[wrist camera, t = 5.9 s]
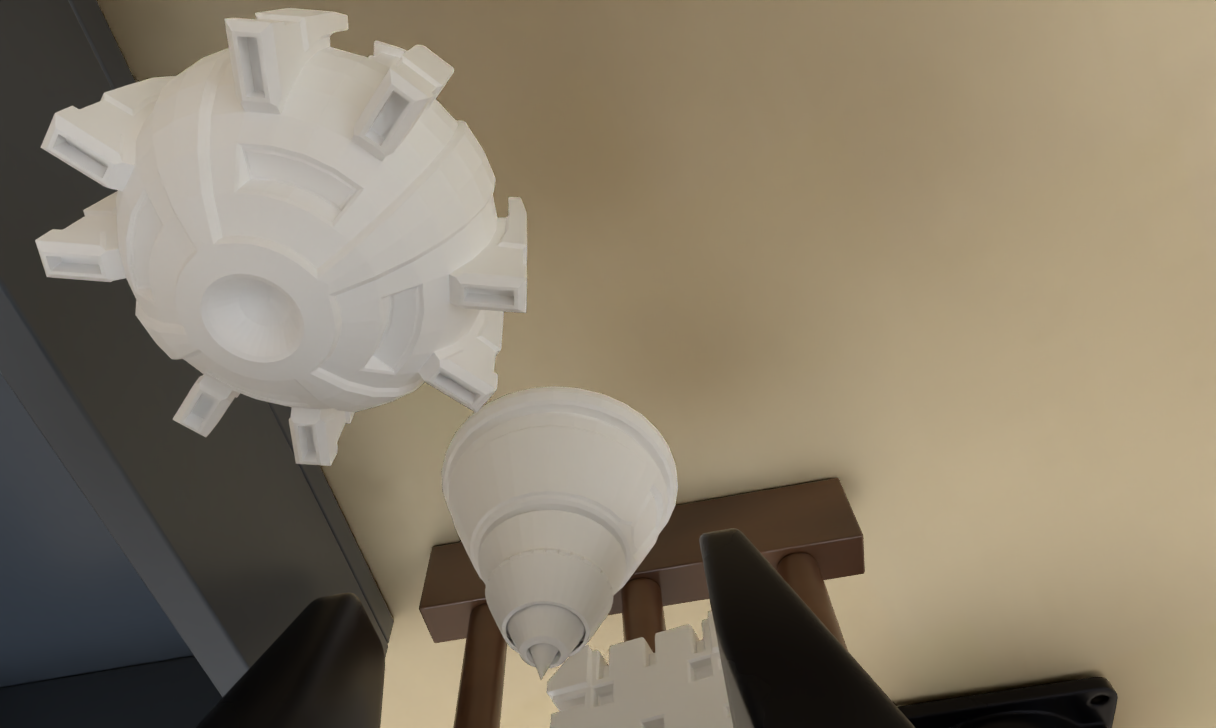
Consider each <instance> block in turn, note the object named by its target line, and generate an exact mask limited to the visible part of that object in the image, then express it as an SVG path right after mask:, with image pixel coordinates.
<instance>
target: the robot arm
mask: <svg viewBox="0 0 1216 728" xmlns="http://www.w3.org/2000/svg"><path fill="white" fill-rule="evenodd" d="M699 543H700V548H701V554H702V559H703V565H704V571H705V576H706V582H707V587H708V593H709V598H710V604H711V609H712V615H713V620H714V626H715V631H716V636H717V642H718V647H719V653H720V658H721V664H722V669H723V674H724V680H725V685H726V691H727V696H728V701H729V707H730V712H731V718H732V723H733V728H1112V724H1113V719H1114V714H1115V708H1116V703H1117V698H1118V697H1117V693H1116V691H1115V690H1114V688H1113V687H1112V685H1111V684H1110V682H1109V681H1108V680H1107V679H1105V678H1102V677H1092V678H1086V679H1079V680H1072V681H1066V682H1059V683H1052V684H1046V685H1039V686H1032V687H1026V688H1019V689H1012V690H1006V691H999V692H992V693H986V694H979V695H972V696H966V697H959V698H953V699H946V700H939V701H933V702H926V703H919V704H913V705H906V706H899V707H897V706H896V705H895V704H894V703H893V702H892V701H891V700H890V699H889V697H888V696H887V695H886V694H885V693H884V692H883V691H882V689H881V688H880V687H879V686H878V685H877V684H876V683H875V682H874V680H873V679H872V678H871V677H870V676H869V675H868V674H867V673H866V671H865V670H864V669H863V668H862V667H861V666H860V665H859V663H858V662H857V661H856V660H855V659H854V658H853V657H852V656H851V654H850V653H849V652H848V651H847V650H846V649H845V648H844V647H843V645H842V644H841V643H840V642H839V641H838V640H837V639H836V637H835V636H834V635H833V634H832V633H831V632H830V631H829V630H828V628H827V627H826V626H825V625H824V624H823V623H822V622H821V621H820V619H819V618H818V617H817V616H816V615H815V614H814V613H813V611H812V610H811V609H810V608H809V607H808V606H807V605H806V604H805V602H804V601H803V600H802V599H801V598H800V597H799V596H798V595H797V593H796V592H795V591H794V590H793V589H792V588H791V587H790V585H789V584H788V583H787V582H786V581H785V580H784V579H783V578H782V576H781V575H780V574H779V573H778V572H777V571H776V570H775V569H774V567H773V566H772V565H771V564H770V563H769V562H768V561H767V559H766V558H765V557H764V556H763V555H762V554H761V553H760V552H759V550H758V549H757V548H756V547H755V546H754V545H753V544H752V543H751V541H750V540H749V539H748V538H747V537H746V536H745V535H744V534H743V533H742V532H741V531H740V530H738V529H735V528H731V529H725V530H719V531H713V532H707V533H703V534H702V535H701V536H700V538H699ZM384 671H385V656H384V650H383V646H382V643H381V641H380V638H379V636H378V634H377V632H376V630H375V628H374V626H373V624H372V622H371V620H370V618H369V616H368V614H367V612H366V610H365V608H364V606H363V604H362V602H361V601H360V599H359V598H358V597H357V596H356V595H355V594H353V593H342V594H336V595H330V596H324V597H319V598H317V599H315V600H313V601H312V602H311V603H310V604H309V605H308V606H307V607H306V608H305V609H304V610H303V611H302V612H301V613H300V614H299V615H298V616H297V618H296V619H295V620H294V621H293V622H292V623H291V624H290V625H289V626H288V627H287V628H286V629H285V631H284V632H283V633H282V634H281V635H280V636H279V637H278V638H277V639H276V640H275V641H274V642H273V643H272V645H271V646H270V647H269V648H268V649H267V650H266V651H265V652H264V653H263V654H262V655H261V656H260V657H259V659H258V660H257V661H256V662H255V663H254V664H253V665H252V666H251V667H250V668H249V669H248V670H247V672H246V673H245V674H244V675H243V676H242V677H241V678H240V679H239V680H238V681H237V682H236V683H235V684H234V686H233V687H232V688H231V689H230V690H229V691H228V692H227V693H226V694H225V695H224V696H223V697H222V699H221V700H220V701H219V702H218V703H217V704H216V705H215V706H214V707H213V708H212V709H211V710H210V711H209V713H208V714H207V715H206V716H205V717H204V718H203V719H202V720H201V721H200V722H199V723H198V724H197V726H196V727H195V728H380V723H381V710H382V697H383V684H384Z"/></svg>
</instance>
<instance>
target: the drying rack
mask: <svg viewBox="0 0 1216 728" xmlns="http://www.w3.org/2000/svg"><path fill="white" fill-rule="evenodd" d="M731 528H735V529H738V530H740V531H741V532H742V533H743V534H744V535H745V536H746V537H747V538H748V539H749V540H750V541H751V543H752V544H753V545H754V546H755V547H756V548H757V549H758V550H759V552H760V553H761V554H762V555H763V556H764V557H765V558H766V559H767V561H768V562H769V563H770V564H771V565H772V566H773V567H774V569H775V570H776V571H777V572H778V573H779V574H780V575H781V576H782V578H783V579H784V580H785V581H786V582H787V583H788V584H789V585H790V587H791V588H792V589H793V590H794V591H795V592H796V593H797V595H798V596H799V597H800V598H801V599H802V600H803V601H804V602H805V604H806V605H807V606H808V607H809V608H810V609H811V610H812V611H813V613H814V614H815V615H816V616H817V617H818V618H819V619H820V621H821V622H822V623H823V624H824V625H825V626H826V627H827V628H828V630H829V631H830V632H831V633H832V634H833V635H834V636H835V637H836V639H837V640H838V641H839V642H840V643H841V644H842V645H843V647H844V648H845V649H846V650H847V647H846V644H845V641H844V638H843V635H842V633H841V630H840V627H839V624H838V621H837V618H836V615H835V612H834V609H833V607H832V604H831V601H830V598H829V595H828V592H827V589H826V586H825V584H824V581H823V580H827V579H833V578H839V577H846V576H852V575H858V574H863V573H864V572H865V565H864V544H863V534H862V531H861V529H860V527H859V524H858V522H857V520H856V517H855V515H854V513H853V511H852V508H851V506H850V504H849V501H848V499H847V497H846V494H845V492H844V490H843V487H842V485H841V483H840V480H839V479H838V478H833V479H827V480H821V481H815V482H810V483H804V484H798V485H792V486H786V487H780V488H775V489H769V490H763V491H757V492H751V493H745V494H739V495H734V496H728V497H722V498H716V499H710V500H704V501H699V502H693V503H687V504H681V505H675V507H674V510H673V512H672V514H671V517H670V519H669V521H668V523H667V524H666V526H665V527H664V528H663V530H662V531H661V532H660V534H659V535H658V538H657V541H656V543H655V545H654V546H653V547H652V549H651V550H650V552H649V553H648V554H647V556H646V557H645V558H644V560H643V561H642V562H641V564H640V565H639V566H638V568H637V569H636V571H635V572H634V573H633V575H632V576H631V577H630V579H629V580H628V581H627V583H626V584H625V585H624V587H623V588H621V589H620V590H619V591H618V592H617V593H616V594H615V595H614V596H613V604H612V608H611V610H610V612H609V613H608V615H612V614H618V613H622V616H623V632H624V642H626V641H630V640H633V639H637V638H640V637H643V638H644V639H645V640H646V642H647V643H648V645H649V647H650V648H651V650H652V651H653V653H655V634H656V633H658V632H662V631H665V630H666V628H665V619H664V611H663V606H667V605H673V604H679V603H685V602H692V601H698V600H704V599H710V598H709V593H708V587H707V582H706V576H705V571H704V565H703V559H702V554H701V548H700V543H699V538H700V536H701V535H702V534H703V533H707V532H713V531H719V530H725V529H731ZM485 586H486V585H485V583H484V582H483V580H482V579H481V578H480V577H479V575H478V573H477V572H476V570H475V568H474V566H473V564H472V562H471V560H470V558H469V556H468V554H467V552H466V550H465V548H464V546H463V544H462V542H459V543H453V544H447V545H441V546H435V547H432V550H431V555H430V560H429V564H428V569H427V573H426V578H425V583H424V587H423V592H422V597H421V601H420V606H419V610H420V612H421V614H422V617H423V619H424V621H425V623H426V625H427V628H428V630H429V632H430V634H431V637H432V639H433V641H434V643H439V642H445V641H451V640H457V639H464V638H466V645H465V652H464V659H463V666H462V673H461V680H460V686H459V693H458V700H457V707H456V714H455V721H454V728H500V718H501V707H502V696H503V684H504V673H505V662H506V651H507V643H506V641H505V639H504V638H503V636H502V634H501V632H500V630H499V628H498V626H497V624H496V622H495V620H494V618H493V616H492V614H491V611H490V609H489V607H488V604H487V602H486V596H485V588H486V587H485ZM847 651H848V650H847Z"/></svg>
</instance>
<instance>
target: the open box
mask: <svg viewBox="0 0 1216 728" xmlns="http://www.w3.org/2000/svg"><path fill="white" fill-rule="evenodd" d="M133 83H136V82H135V80H134V78H133V76H132V74H131V72H130V70H129V68H128V66H127V63H126V61H125V59H124V57H123V55H122V53H121V51H120V49H119V47H118V45H117V43H116V41H115V38H114V36H113V34H112V32H111V30H110V28H109V26H108V24H107V22H106V20H105V18H104V15H103V13H102V11H101V9H100V7H99V5H98V3H97V1H96V0H0V728H195V727H196V726H197V724H198V723H199V722H200V721H201V720H202V719H203V718H204V717H205V716H206V715H207V714H208V713H209V711H210V710H211V709H212V708H213V707H214V706H215V705H216V704H217V703H218V702H219V701H220V700H221V699H222V697H223V696H224V695H225V694H226V693H227V692H228V691H229V690H230V689H231V688H232V687H233V686H234V684H235V683H236V682H237V681H238V680H239V679H240V678H241V677H242V676H243V675H244V674H245V673H246V672H247V670H248V669H249V668H250V667H251V666H252V665H253V664H254V663H255V662H256V661H257V660H258V659H259V657H260V656H261V655H262V654H263V653H264V652H265V651H266V650H267V649H268V648H269V647H270V646H271V645H272V643H273V642H274V641H275V640H276V639H277V638H278V637H279V636H280V635H281V634H282V633H283V632H284V631H285V629H286V628H287V627H288V626H289V625H290V624H291V623H292V622H293V621H294V620H295V619H296V618H297V616H298V615H299V614H300V613H301V612H302V611H303V610H304V609H305V608H306V607H307V606H308V605H309V604H310V603H311V602H312V601H313V600H315V599H317V598H319V597H324V596H330V595H336V594H342V593H353V594H355V595H356V596H357V597H358V598H359V599H360V601H361V602H362V604H363V606H364V608H365V610H366V612H367V614H368V616H369V618H370V620H371V622H372V624H373V626H374V628H375V630H376V632H377V634H378V636H379V638H380V641H381V643H382V646H383V650H384V656H385V657H386V653H387V648H388V643H389V639H390V635H391V631H392V627H393V622H394V621H393V618H392V616H391V614H390V612H389V610H388V608H387V606H386V603H385V601H384V599H383V597H382V595H381V593H380V591H379V589H378V587H377V585H376V583H375V581H374V578H373V576H372V574H371V572H370V570H369V568H368V566H367V564H366V562H365V560H364V558H363V555H362V553H361V551H360V549H359V547H358V545H357V543H356V541H355V539H354V537H353V535H352V533H351V530H350V528H349V526H348V524H347V522H346V520H345V518H344V516H343V514H342V512H341V510H340V508H339V505H338V503H337V501H336V499H335V497H334V495H333V493H332V491H331V489H330V487H329V485H328V483H327V480H326V478H325V476H324V474H323V472H322V470H321V468H320V466H319V465H309V464H296V462H295V456H294V450H293V444H292V438H291V432H290V426H289V418H290V416H291V407H288V406H284V405H279V404H275V403H270V402H266V401H261V400H257V399H254V398H251V397H249V396H246V395H244V394H241V393H240V394H239V396H238V397H237V398H236V397H235V398H234V400H233V401H232V403H231V404H230V406H229V407H228V409H227V410H226V412H225V413H224V415H223V416H222V418H221V419H220V421H219V422H218V424H217V425H216V426H215V427H214V429H213V430H212V431H211V432H210V433H209V435H208V436H207V437H204V436H202V435H200V434H198V433H196V432H195V431H193V430H191V429H189V428H187V427H185V426H183V425H181V424H180V423H178V422H176V421H174V420H173V418H174V416H175V414H176V413H177V411H178V409H179V408H180V406H181V405H182V403H183V401H184V400H185V398H186V396H187V395H188V393H189V392H190V390H191V388H192V387H193V385H194V383H195V382H196V381H197V379H198V378H199V377H200V376H202V375H203V373H201V372H200V371H199V370H197V369H196V368H195V367H193V366H192V365H191V364H189V363H188V362H186V361H185V360H184V359H178V360H176V359H171V358H170V357H169V356H168V355H167V354H166V353H165V352H164V351H163V350H162V349H161V348H160V347H159V346H158V345H157V344H156V343H155V341H154V340H153V339H152V337H151V336H150V334H149V333H148V332H147V330H146V329H145V327H144V326H143V325H142V323H141V322H140V320H139V319H138V318H137V316H136V315H135V312H136V301H137V300H136V298H135V296H134V294H133V292H132V289H131V287H130V285H129V283H128V281H127V279H126V278H125V279H119V280H114V281H112V282H102V281H89V280H77V279H64V278H51V277H47V276H46V273H45V270H44V267H43V264H42V261H41V257H40V254H39V251H38V248H37V245H36V242H35V240H36V239H38V238H39V237H41V236H42V235H44V234H46V233H47V232H49V231H50V230H52V229H59V230H63V229H65V228H66V227H68V226H70V225H71V224H73V223H74V222H76V221H78V220H79V219H81V218H83V217H84V216H85V215H84V211H83V210H84V209H86V208H88V207H90V206H91V205H93V204H95V203H97V202H99V201H100V200H102V199H104V198H106V197H107V196H109V195H111V194H113V193H115V192H117V191H118V190H114V189H110V188H107V187H104V186H102V185H101V184H99V183H98V182H96V181H94V180H93V179H91V178H89V177H88V176H86V175H84V174H83V173H81V172H80V171H78V170H76V169H75V168H73V167H71V166H70V165H68V164H67V163H65V162H63V161H62V160H60V159H58V158H57V157H55V156H54V155H52V154H50V153H49V152H47V151H45V150H44V149H42V148H40V147H41V145H42V143H43V140H44V138H45V136H46V133H47V131H48V128H49V126H50V124H51V121H52V119H53V116H54V114H55V113H56V112H58V111H61V110H63V109H65V108H68V107H70V106H74V107H76V108H78V109H82V108H84V107H87V106H89V105H92V104H95V103H97V102H100V101H101V98H102V96H103V94H104V93H105V92H108V91H111V90H114V89H117V88H120V87H123V86H126V85H130V84H133Z"/></svg>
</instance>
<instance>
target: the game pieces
mask: <svg viewBox="0 0 1216 728" xmlns="http://www.w3.org/2000/svg"><path fill="white" fill-rule="evenodd" d="M255 16H256V19H247V18H235V17H234V18H225V19H224V21H225V27H226V33H227V40H228V46H229V48H226V49H224V50H221V51H218V52H216V53H213V54H210V55H208V56H205V57H203V58H201V59H200V60H198V61H197V62H196V63H194V64H193V65H191V66H190V67H188V68H187V69H185V70H184V71H182V72H181V73H180V74H178V75H177V76H165V77H154V78H150V79H147V80H143V81H140V82H136V83H133V84H130V85H126V86H123V87H120V88H117V89H114V90H111V91H108V92H105V93H104V94H103V96H102V98H101V101H100V102H97V103H95V104H92V105H89V106H87V107H84V108H82V109H78V108H76V107H74V106H70V107H68V108H65V109H63V110H61V111H58V112H56V113H55V114H54V116H53V119H52V121H51V124H50V126H49V128H48V131H47V133H46V136H45V138H44V140H43V143H42V145H41V147H40V148H42V149H44V150H45V151H47V152H49V153H50V154H52V155H54V156H55V157H57V158H58V159H60V160H62V161H63V162H65V163H67V164H68V165H70V166H71V167H73V168H75V169H76V170H78V171H80V172H81V173H83V174H84V175H86V176H88V177H89V178H91V179H93V180H94V181H96V182H98V183H99V184H101V185H102V186H104V187H107V188H110V189H114V190H118V191H117V192H115V193H113V194H111V195H109V196H107V197H106V198H104V199H102V200H100V201H99V202H97V203H95V204H93V205H91V206H90V207H88V208H86V209H84V210H83V211H84V215H85V216H84V217H83V218H81V219H79V220H78V221H76V222H74V223H73V224H71V225H70V226H68V227H66V228H65V229H63V230H59V229H52V230H50V231H49V232H47V233H46V234H44V235H42V236H41V237H39V238H38V239H36V240H35V242H36V245H37V248H38V251H39V254H40V257H41V261H42V264H43V267H44V270H45V273H46V276H47V277H51V278H64V279H77V280H89V281H102V282H112V281H114V280H119V279H125V278H126V279H127V281H128V283H129V285H130V287H131V289H132V292H133V294H134V296H135V298H136V300H137V301H136V312H135V315H136V316H137V318H138V319H139V320H140V322H141V323H142V325H143V326H144V327H145V329H146V330H147V332H148V333H149V334H150V336H151V337H152V339H153V340H154V341H155V343H156V344H157V345H158V346H159V347H160V348H161V349H162V350H163V351H164V352H165V353H166V354H167V355H168V356H169V357H170V358H171V359H176V360H178V359H184V360H185V361H186V362H188V363H189V364H191V365H192V366H193V367H195V368H196V369H197V370H199V371H200V372H201V373H203V375H202V376H200V377H199V378H198V379H197V381H196V382H195V383H194V385H193V387H192V388H191V390H190V392H189V393H188V395H187V396H186V398H185V400H184V401H183V403H182V405H181V406H180V408H179V409H178V411H177V413H176V414H175V416H174V418H173V420H174V421H176V422H178V423H180V424H181V425H183V426H185V427H187V428H189V429H191V430H193V431H195V432H196V433H198V434H200V435H202V436H204V437H207V436H208V435H209V433H210V432H211V431H212V430H213V429H214V427H215V426H216V425H217V424H218V422H219V421H220V419H221V418H222V416H223V415H224V413H225V412H226V410H227V409H228V407H229V406H230V404H231V403H232V401H233V400H234V398H235V397H236V398H237V397H238V396H239V394H240V393H241V394H244V395H246V396H249V397H251V398H254V399H257V400H261V401H266V402H270V403H275V404H279V405H284V406H288V407H291V416H290V418H289V426H290V432H291V438H292V444H293V450H294V456H295V462H296V464H309V465H323V466H331V465H332V463H333V460H334V458H335V456H336V454H337V452H338V445H337V441H338V439H339V437H340V435H341V433H342V430H343V428H344V426H345V424H346V423H347V424H350V423H351V421H352V419H353V416H354V414H355V412H359V411H362V410H366V409H370V408H373V407H377V406H380V405H383V404H386V403H389V402H392V401H395V400H397V399H399V398H401V397H403V396H405V395H407V394H409V393H411V392H413V391H415V390H416V389H418V388H419V387H420V386H421V385H422V384H423V383H425V382H426V383H427V384H429V385H431V386H432V387H434V388H436V389H437V390H439V391H441V392H442V393H444V394H446V395H447V396H449V397H451V398H452V399H454V400H456V401H457V402H459V403H461V404H462V405H464V406H466V407H467V408H469V409H471V410H472V411H474V412H475V413H473V414H472V415H471V416H469V417H468V418H467V419H466V421H465V422H464V423H463V424H462V425H461V426H460V428H459V429H458V430H457V431H456V432H455V434H454V436H453V438H452V440H451V442H450V444H449V446H448V448H447V451H446V454H445V459H444V463H443V468H442V490H443V494H444V497H445V501H446V504H447V507H448V509H449V511H450V513H451V516H452V519H453V523H454V526H455V529H456V531H457V533H458V535H459V537H460V540H461V542H462V544H463V546H464V548H465V550H466V552H467V554H468V556H469V558H470V560H471V562H472V564H473V566H474V568H475V570H476V572H477V573H478V575H479V577H480V578H481V579H482V580H483V582H484V583H485V585H486V586H485V587H486V588H485V596H486V602H487V604H488V607H489V609H490V611H491V614H492V616H493V618H494V620H495V622H496V624H497V626H498V628H499V630H500V632H501V634H502V636H503V638H504V639H505V641H506V643H507V644H508V645H509V646H510V647H511V648H512V649H513V650H515V651H516V652H518V653H519V654H520V656H521V658H522V659H523V660H524V662H526V663H527V664H529V665H531V666H534V667H536V668H537V670H538V673H539V676H540V679H542V678H543V676H544V674H545V673H546V671H547V669H548V668H553V667H556V666H559V665H561V664H562V663H564V664H563V665H562V666H561V667H560V668H559V669H558V670H557V672H556V673H555V674H554V675H553V676H552V677H551V678H550V679H549V681H548V682H547V694H548V695H549V696H550V698H551V699H552V701H553V703H554V704H555V705H556V707H557V708H558V709H559V711H560V712H556V713H553V714H551V723H550V728H733V723H732V718H731V712H730V707H729V701H728V696H727V691H726V685H725V680H724V674H723V669H722V664H721V658H720V653H719V647H718V642H717V636H716V631H715V626H714V620H713V615H712V610H711V611H708V619H705V620H703V621H702V632H703V640H699V638H698V637H697V635H696V633H695V631H694V630H693V628H692V626H691V625H690V624H687V625H683V626H680V627H676V628H673V629H669V630H665V631H662V632H658V633H656V634H655V653H653V651H652V650H651V648H650V647H649V645H648V643H647V642H646V640H645V639H644V638H643V637H640V638H637V639H633V640H630V641H626V642H622V643H619V644H615V645H612V646H610V648H609V665H608V664H607V662H606V661H605V659H604V658H603V656H602V655H601V653H600V652H599V651H598V650H594V651H592V650H591V648H590V647H589V646H588V645H586V644H587V642H588V641H589V640H590V639H591V637H592V636H593V635H594V633H595V632H596V631H597V629H598V628H599V626H600V625H601V624H602V622H603V621H604V620H605V618H606V617H607V616H608V613H609V612H610V610H611V608H612V604H613V596H614V595H615V594H616V593H617V592H618V591H619V590H620V589H621V588H623V587H624V585H625V584H626V583H627V581H628V580H629V579H630V577H631V576H632V575H633V573H634V572H635V571H636V569H637V568H638V566H639V565H640V564H641V562H642V561H643V560H644V558H645V557H646V556H647V554H648V553H649V552H650V550H651V549H652V547H653V546H654V545H655V543H656V541H657V538H658V535H659V534H660V532H661V531H662V530H663V528H664V527H665V526H666V524H667V523H668V521H669V519H670V517H671V514H672V512H673V510H674V507H675V504H676V498H677V492H678V482H677V472H676V464H675V461H674V458H673V456H672V453H671V450H670V447H669V446H668V444H667V443H666V441H665V440H664V438H663V437H662V435H661V434H660V432H659V430H658V429H656V428H655V427H654V426H653V425H652V424H651V423H650V422H649V421H648V420H647V419H646V418H645V417H644V416H643V415H642V414H640V413H639V412H637V411H636V410H634V409H633V408H631V407H630V406H628V405H627V404H625V403H623V402H621V401H618V400H616V399H614V398H611V397H609V396H607V395H604V394H602V393H598V392H593V391H589V390H585V389H581V388H573V387H559V386H549V387H538V388H529V389H525V390H521V391H517V392H514V393H510V394H506V395H504V396H502V397H500V398H498V399H496V400H494V401H491V402H489V403H487V404H485V403H486V402H487V400H488V399H489V398H490V397H491V396H492V395H493V394H494V392H495V391H496V390H497V383H498V374H496V373H495V372H494V366H495V357H496V355H497V354H498V353H499V352H500V350H501V347H502V332H503V318H504V312H518V313H526V304H527V213H526V210H525V207H524V204H523V202H522V199H521V197H508V216H507V217H506V218H502V217H497V213H496V208H495V203H494V198H493V192H494V189H495V180H496V178H495V176H494V173H493V171H492V169H491V166H490V164H489V161H488V159H487V156H486V154H485V152H484V150H483V148H482V147H481V145H480V144H479V142H478V141H477V139H476V137H475V136H474V134H473V133H472V131H471V130H470V128H469V127H468V125H467V124H466V122H465V121H461V120H458V121H456V120H455V119H454V118H453V117H452V116H451V115H450V114H449V113H448V111H447V110H446V109H445V108H444V107H443V106H442V105H441V104H440V103H439V102H438V101H437V100H436V98H437V96H438V95H439V94H440V92H441V91H442V89H443V88H444V86H445V85H446V83H447V82H448V80H449V79H450V77H451V76H452V74H453V73H454V68H453V67H452V66H450V65H449V64H448V63H447V62H445V61H444V60H443V59H441V58H440V57H439V56H437V55H436V54H435V53H433V52H432V51H431V50H429V49H428V48H427V47H426V46H424V45H417V44H416V45H415V46H413V47H412V48H411V49H409V50H408V51H407V50H405V49H403V48H401V47H398V46H394V45H391V44H387V43H384V42H380V41H377V40H376V41H374V56H372V55H370V56H368V57H365V56H361V55H358V54H354V53H351V52H347V51H344V50H340V49H336V48H333V47H330V36H331V35H332V34H333V33H334V32H340V31H346V30H349V29H348V15H345V14H341V13H337V12H333V11H321V10H310V9H298V8H283V9H276V10H270V11H263V12H256V13H255ZM484 404H485V405H484ZM483 405H484V406H483ZM482 406H483V407H482ZM585 645H586V646H585ZM568 657H569V658H568ZM567 658H568V659H567ZM566 659H567V660H566ZM565 660H566V661H565Z"/></svg>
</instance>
